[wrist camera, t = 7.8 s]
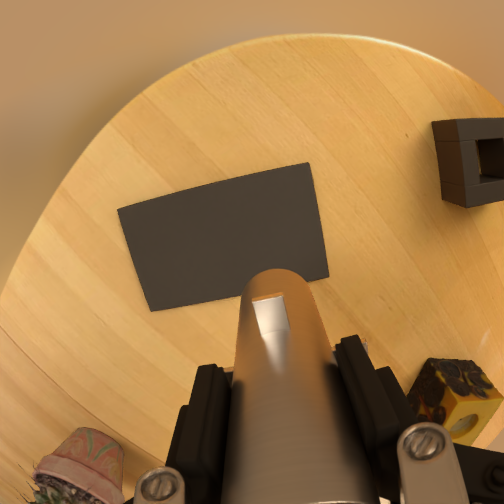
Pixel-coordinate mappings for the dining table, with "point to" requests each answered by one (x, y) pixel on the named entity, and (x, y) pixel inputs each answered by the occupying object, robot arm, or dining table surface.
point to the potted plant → (81, 471)
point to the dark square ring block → (470, 160)
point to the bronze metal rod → (290, 405)
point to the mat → (225, 236)
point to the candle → (454, 398)
